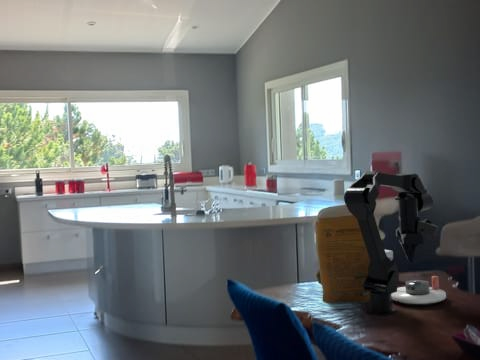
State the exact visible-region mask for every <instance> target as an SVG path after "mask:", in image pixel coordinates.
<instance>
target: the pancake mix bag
mask: <svg viewBox="0 0 480 360" xmlns="http://www.w3.org/2000/svg"><path fill="white" fill-rule="evenodd" d="M314 234H315V247H316V248H315V249H316V255H317V262H318V268H319V269H318V270H320V276H321V283H322V285H321V287H322V292H323V293H322V294H323V295H322V301H323V302H325V303H329V304H343V303H345V304H348V303H368V302H370V292H371V291H364V288H363V283H364V281H365V279H366V277H367V275H368V270H367V268H368V265H369V262H370V259H369V256H368V252H367V249H366V246H365V243H364V240H363V237H362V234H361V230H360V227H359V224H358V221H357V218H356V217H355V216H354V215H352V214H351V215H343V216H336V217H335V216H334V217H333V216H332V217H320V218H318V221H315V222H314Z"/></svg>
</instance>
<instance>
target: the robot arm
mask: <svg viewBox="0 0 480 360" xmlns="http://www.w3.org/2000/svg"><path fill="white" fill-rule="evenodd" d="M368 186H370V187H368ZM380 186H381V187H388V188H391V189H392V190H394V191H395V192H398V194H397V195H396V196H395V197H394V200H395V201H398V218H397V219H398V220H399V226H398V227H397V228H396V229H395V236H396V238H397V237H400V236H401V238H399V239H398V242H399V243H400V245H401V248H402V250H403V252H404V255H405V257H406V259H407V261H408V263H413V262H414V259H415V258H414V257H415V253H416V249H417V246H418V245H424V244H426V240H425V236H424V235H423V234H422V233H424V234H427V235H430V236H432V237H436V234H437V231H438V229H439V226H437V225H435V224H433V223H432V220H431V219H428V218H425V219H424V220H421V217H420V216H419V212H423V211H427V210H429V209H431V208H432V207H433V204H434V199H433V198H432V196H431V195H430V194H429V193H428V191H427V189H425V186H424V184H423V182H422V180H421V178H420V177H419V175H418V174H417V173H396V174H392V173H386V172H380V171H377V170H373V171H369V170H368V171H365V172H364V173H362V175H361V176H360V177H359V178H358V179H356V180H355V181H353V182H352V183H350V185H349V186H348V188H347V189H346V191H345V193H344V195H343V200H344V201H343V202H344V203H345V206H346V208H347V210H348V212H349V213H350V214H351V215H354V216H355V217H356V218H357V221H358V224H359V227H360V230H361V234H362V237H363V240H364V243H365V246H366V249H367V252H368V256H369V259H370V262H369V265H368V268H367V270H368V275H367V277H366V279H365V281H364V283H363V288H364V291H371V292H370V301H369V302H370V308H369V309H366V313H369V314H373V315H379V316H388V315H390V314H393V313H394V312H397V308H393V299H392V296H391V294H392V293H395V292H397V288H399V287H398V286H399V281H400V280H399V279H400V274H399V270H400V269H399V268H398V265H397V262H396V259H395V258H394V257H393V258H388V257H387V256H386V253H385V250H386V249H385V247H384V243H383V241H382V238H381V237H382V236H381V234H380V233H381V232H380V230H379V227H378V224H377V220H376V218H375V214H374V212H375V210H376V206H377V201H376V200H377V199H378V197H379V195H380V193H381V191H380ZM381 285H385V286H381Z"/></svg>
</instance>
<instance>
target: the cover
mask: <svg viewBox="0 0 480 360" xmlns="http://www.w3.org/2000/svg"><path fill="white" fill-rule="evenodd" d="M404 283H405V284H404V285H405V286H404V287H406V293H407V294H409V295H427V294H429V293H430V290H429V287H430V281H427V280H423V279H412V280H406V281H405V282H404Z"/></svg>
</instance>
